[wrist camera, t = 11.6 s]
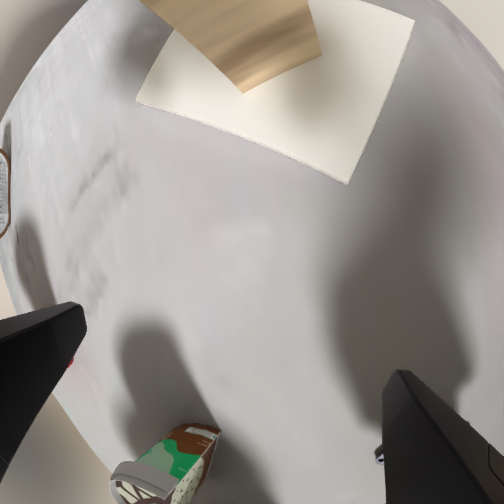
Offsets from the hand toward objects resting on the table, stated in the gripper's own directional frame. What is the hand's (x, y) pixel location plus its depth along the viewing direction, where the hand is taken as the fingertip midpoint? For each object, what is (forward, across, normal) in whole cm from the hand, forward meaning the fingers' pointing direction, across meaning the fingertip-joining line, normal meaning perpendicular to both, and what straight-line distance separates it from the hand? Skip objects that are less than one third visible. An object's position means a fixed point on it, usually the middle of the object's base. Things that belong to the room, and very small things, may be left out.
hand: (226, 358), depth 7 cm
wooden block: (+14, +2, -13) cm, 19 cm away
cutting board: (+16, +2, -13) cm, 20 cm away
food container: (+10, +4, +23) cm, 25 cm away
